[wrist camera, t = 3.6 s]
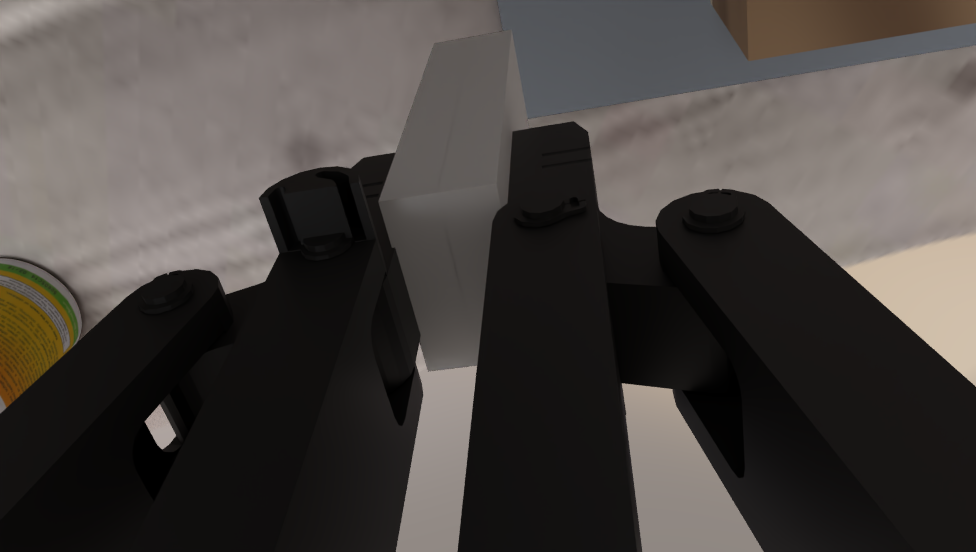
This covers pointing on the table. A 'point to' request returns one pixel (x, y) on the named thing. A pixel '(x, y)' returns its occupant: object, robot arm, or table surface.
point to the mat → (661, 51)
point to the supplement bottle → (32, 326)
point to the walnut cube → (832, 22)
